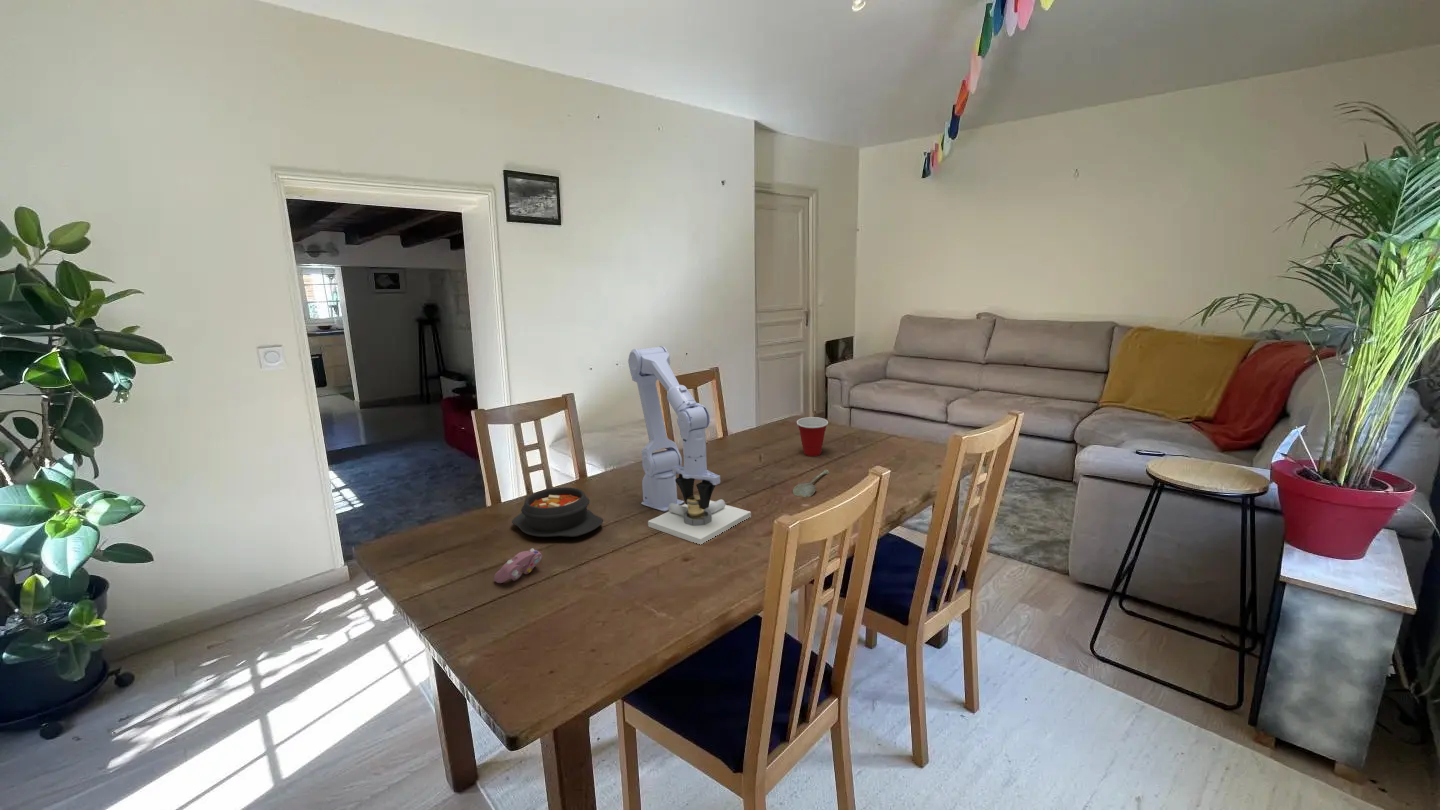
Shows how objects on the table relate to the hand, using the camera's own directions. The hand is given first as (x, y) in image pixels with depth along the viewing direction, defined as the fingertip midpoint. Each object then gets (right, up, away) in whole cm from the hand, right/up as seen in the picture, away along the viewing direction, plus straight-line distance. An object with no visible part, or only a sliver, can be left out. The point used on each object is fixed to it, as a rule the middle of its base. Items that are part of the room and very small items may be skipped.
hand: (697, 505), depth 151 cm
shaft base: (+1, -5, +3) cm, 6 cm away
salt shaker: (0, -4, +1) cm, 4 cm away
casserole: (-36, -6, +3) cm, 37 cm away
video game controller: (-38, -12, -21) cm, 45 cm away
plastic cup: (+38, +8, +56) cm, 69 cm away
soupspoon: (+34, +1, +28) cm, 44 cm away
